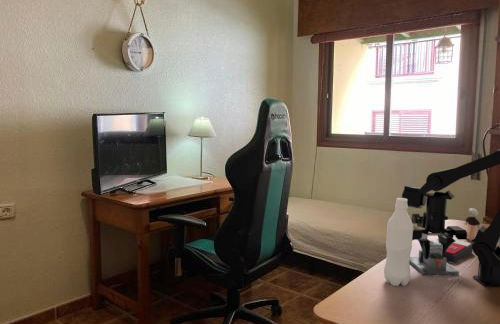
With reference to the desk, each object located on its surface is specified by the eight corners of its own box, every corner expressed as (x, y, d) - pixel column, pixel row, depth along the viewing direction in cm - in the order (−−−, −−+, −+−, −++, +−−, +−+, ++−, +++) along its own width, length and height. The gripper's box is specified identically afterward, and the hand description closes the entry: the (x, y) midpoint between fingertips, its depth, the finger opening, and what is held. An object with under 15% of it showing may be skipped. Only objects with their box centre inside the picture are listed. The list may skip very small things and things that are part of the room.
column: (441, 266, 129) (443, 245, 128) (429, 266, 129) (431, 245, 128) (434, 261, 133) (436, 240, 132) (422, 261, 133) (424, 240, 132)
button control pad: (422, 245, 143) (441, 234, 152) (421, 256, 144) (441, 245, 153) (454, 253, 135) (473, 242, 144) (454, 266, 135) (472, 253, 145)
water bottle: (411, 289, 115) (417, 202, 112) (384, 286, 117) (390, 201, 113) (407, 279, 122) (412, 196, 119) (382, 276, 124) (387, 195, 120)
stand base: (458, 275, 126) (460, 258, 125) (423, 275, 125) (424, 258, 124) (438, 260, 138) (440, 245, 137) (406, 260, 137) (407, 245, 136)
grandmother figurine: (458, 237, 162) (461, 206, 160) (465, 236, 164) (467, 205, 162) (476, 243, 155) (479, 211, 154) (483, 242, 157) (486, 210, 155)
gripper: (451, 204, 137) (447, 249, 139) (396, 204, 136) (393, 250, 138) (470, 213, 126) (466, 262, 128) (411, 213, 125) (407, 262, 127)
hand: (432, 258), depth 131 cm, fingers closed on column, 4 cm apart
